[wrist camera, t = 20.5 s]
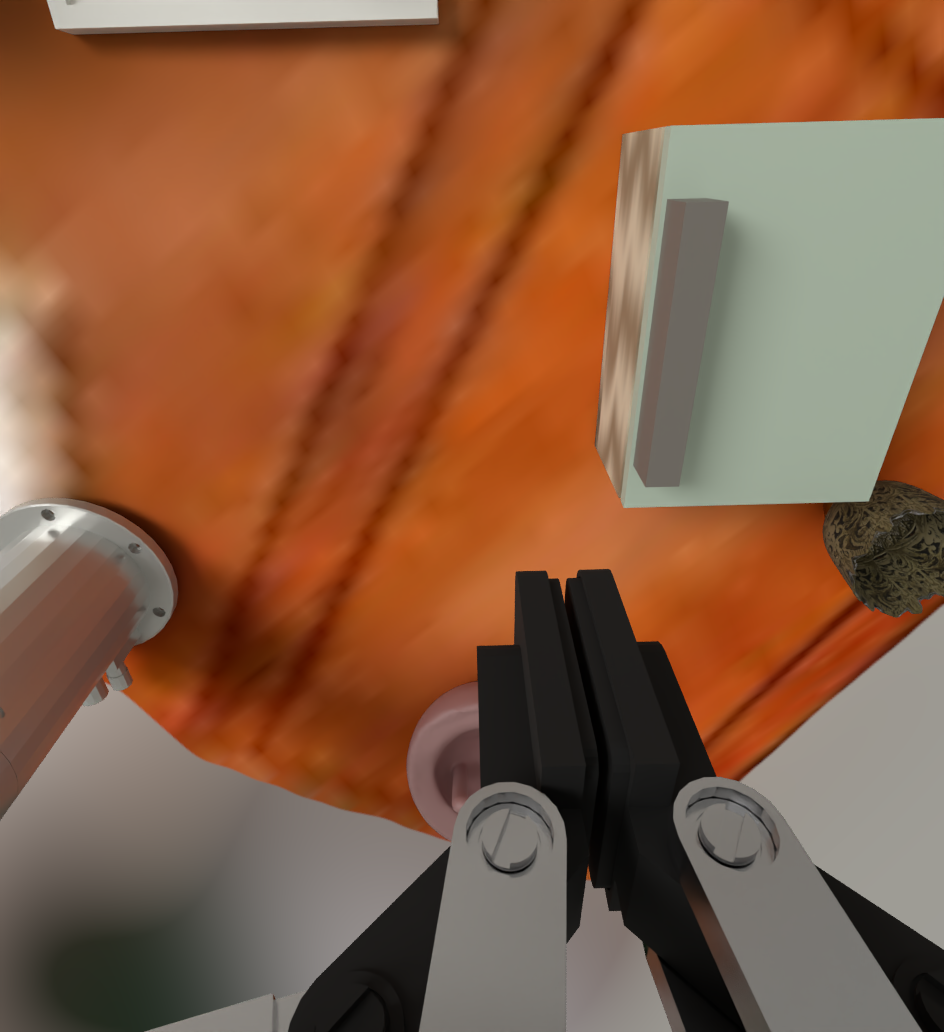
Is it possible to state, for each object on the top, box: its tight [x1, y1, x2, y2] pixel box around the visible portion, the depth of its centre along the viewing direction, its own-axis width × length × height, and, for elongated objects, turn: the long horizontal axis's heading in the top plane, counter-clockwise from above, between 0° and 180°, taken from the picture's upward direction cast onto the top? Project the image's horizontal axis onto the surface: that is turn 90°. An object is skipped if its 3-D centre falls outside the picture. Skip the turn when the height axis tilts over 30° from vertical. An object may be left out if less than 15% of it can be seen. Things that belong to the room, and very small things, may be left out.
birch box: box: [595, 127, 665, 498], centre depth 31 cm, size 17×13×7 cm
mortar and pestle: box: [407, 681, 481, 841], centre depth 46 cm, size 12×12×11 cm
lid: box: [621, 118, 944, 508], centre depth 27 cm, size 17×13×3 cm
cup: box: [823, 480, 944, 617], centre depth 37 cm, size 8×7×8 cm
